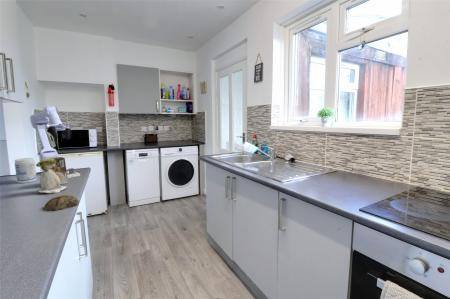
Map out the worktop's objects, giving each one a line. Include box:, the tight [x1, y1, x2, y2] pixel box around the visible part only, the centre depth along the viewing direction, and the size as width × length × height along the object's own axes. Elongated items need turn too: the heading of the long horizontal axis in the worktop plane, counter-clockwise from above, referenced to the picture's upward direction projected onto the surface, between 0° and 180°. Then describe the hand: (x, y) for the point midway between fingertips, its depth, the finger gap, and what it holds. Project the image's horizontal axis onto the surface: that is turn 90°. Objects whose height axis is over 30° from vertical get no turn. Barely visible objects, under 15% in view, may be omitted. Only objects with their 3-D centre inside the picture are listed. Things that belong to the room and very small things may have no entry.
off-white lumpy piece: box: [35, 158, 67, 194], centre depth 124 cm, size 12×13×18 cm
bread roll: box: [44, 194, 79, 212], centre depth 104 cm, size 13×12×5 cm
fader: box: [68, 167, 75, 174], centre depth 158 cm, size 2×2×4 cm
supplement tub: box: [14, 157, 38, 184], centre depth 145 cm, size 10×10×15 cm
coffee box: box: [51, 156, 69, 186], centre depth 138 cm, size 9×6×16 cm
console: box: [67, 170, 81, 179], centre depth 158 cm, size 16×13×4 cm
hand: (62, 138), depth 146 cm, fingers open, 7 cm apart
